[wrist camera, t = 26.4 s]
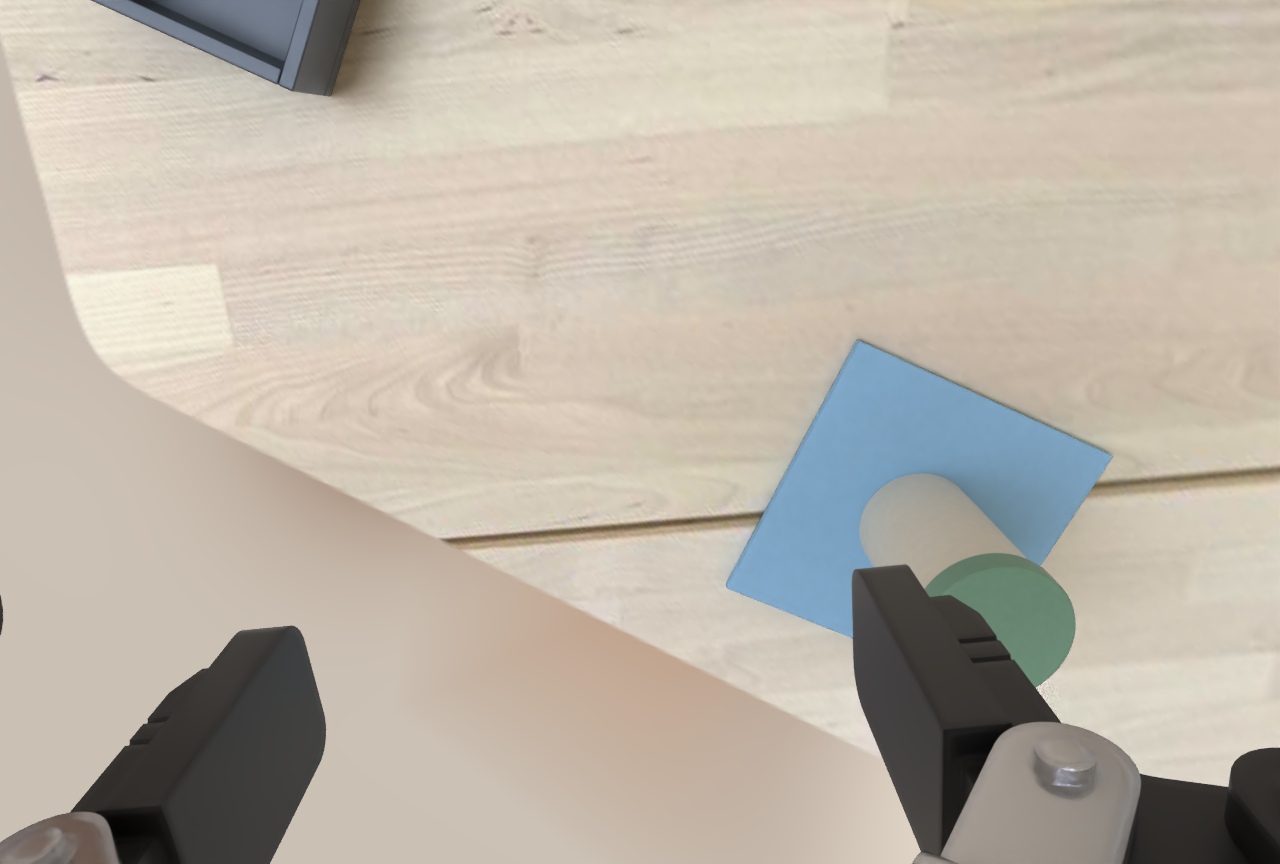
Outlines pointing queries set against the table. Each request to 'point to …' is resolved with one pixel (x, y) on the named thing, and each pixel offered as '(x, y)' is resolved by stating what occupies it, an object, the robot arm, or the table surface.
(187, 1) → the divided tray
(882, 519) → the container
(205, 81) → the table surface
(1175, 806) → the robot arm
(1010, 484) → the mat
